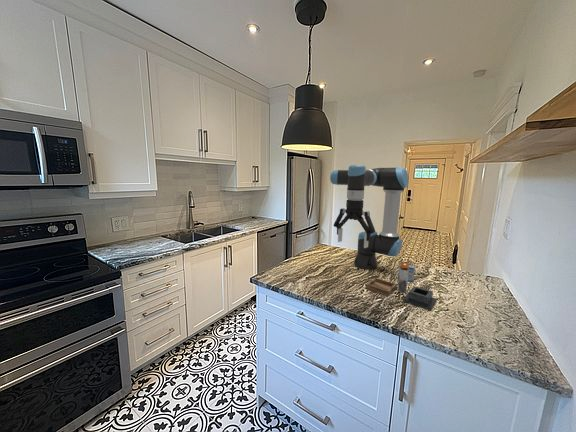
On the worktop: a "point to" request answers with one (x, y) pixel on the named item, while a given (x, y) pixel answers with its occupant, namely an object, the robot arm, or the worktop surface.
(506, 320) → the worktop surface
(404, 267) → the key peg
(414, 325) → the worktop surface
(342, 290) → the worktop surface
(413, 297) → the block
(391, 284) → the tray
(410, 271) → the medicine box
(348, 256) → the worktop surface
